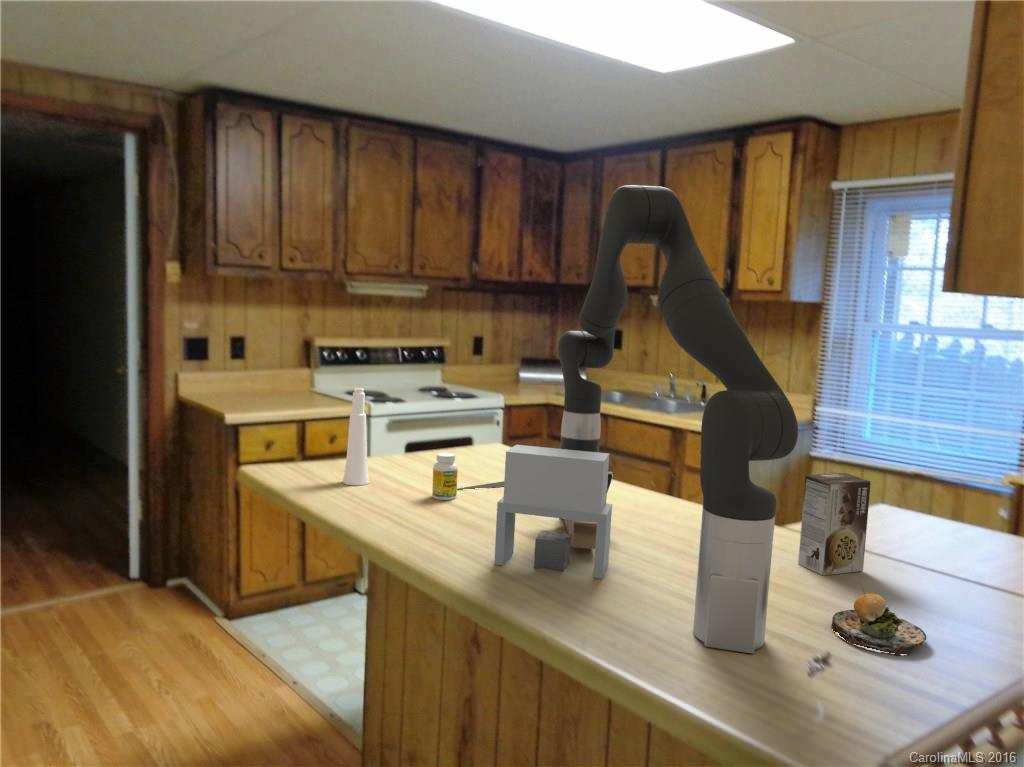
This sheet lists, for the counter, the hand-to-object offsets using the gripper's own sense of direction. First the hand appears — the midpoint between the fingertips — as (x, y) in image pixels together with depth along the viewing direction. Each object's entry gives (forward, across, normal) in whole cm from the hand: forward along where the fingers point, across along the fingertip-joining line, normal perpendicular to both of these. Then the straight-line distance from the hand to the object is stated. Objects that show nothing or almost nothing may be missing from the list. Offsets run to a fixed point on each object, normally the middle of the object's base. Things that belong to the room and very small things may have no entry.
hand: (575, 520), depth 151 cm
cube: (+2, 0, -23) cm, 23 cm away
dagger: (+2, -22, +29) cm, 37 cm away
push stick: (0, +1, -4) cm, 4 cm away
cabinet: (+2, 0, -23) cm, 23 cm away
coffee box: (+2, +46, -6) cm, 46 cm away
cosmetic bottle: (+2, -54, +16) cm, 56 cm away
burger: (+2, +48, -34) cm, 59 cm away
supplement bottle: (+2, -31, +12) cm, 33 cm away
